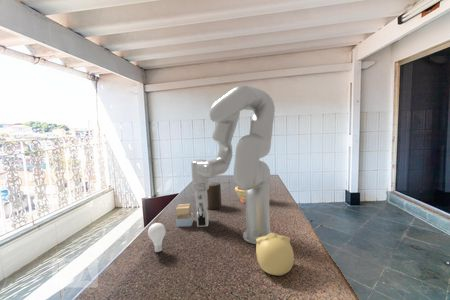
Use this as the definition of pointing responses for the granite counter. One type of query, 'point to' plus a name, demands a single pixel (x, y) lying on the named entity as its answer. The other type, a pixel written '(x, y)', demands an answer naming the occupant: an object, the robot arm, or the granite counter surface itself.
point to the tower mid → (183, 211)
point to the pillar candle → (214, 195)
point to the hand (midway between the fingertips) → (202, 221)
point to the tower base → (185, 221)
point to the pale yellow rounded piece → (275, 254)
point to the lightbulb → (157, 235)
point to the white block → (205, 219)
